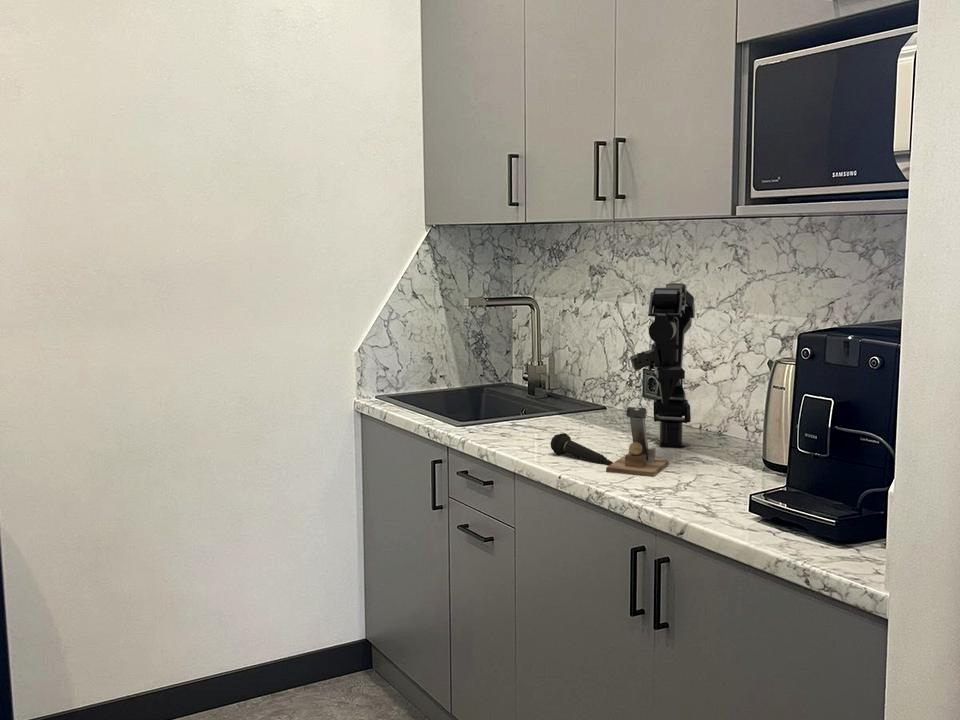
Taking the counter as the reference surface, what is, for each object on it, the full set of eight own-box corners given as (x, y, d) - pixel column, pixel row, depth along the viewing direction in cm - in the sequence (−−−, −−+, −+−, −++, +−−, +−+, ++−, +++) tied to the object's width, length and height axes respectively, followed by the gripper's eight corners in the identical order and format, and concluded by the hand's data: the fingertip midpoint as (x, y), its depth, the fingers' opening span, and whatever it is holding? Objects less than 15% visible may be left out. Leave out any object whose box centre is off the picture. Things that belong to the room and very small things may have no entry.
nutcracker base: (623, 460, 233) (623, 433, 232) (668, 464, 228) (669, 437, 227) (606, 471, 221) (606, 443, 221) (653, 476, 217) (653, 448, 216)
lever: (635, 455, 230) (628, 404, 223) (652, 456, 228) (645, 406, 221) (632, 461, 228) (626, 410, 221) (649, 463, 226) (643, 411, 219)
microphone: (617, 478, 229) (557, 454, 243) (624, 454, 229) (564, 432, 244) (603, 474, 225) (543, 450, 240) (611, 451, 225) (550, 428, 240)
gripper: (627, 336, 244) (626, 397, 245) (637, 343, 225) (636, 410, 227) (672, 336, 243) (671, 397, 245) (686, 343, 225) (684, 410, 226)
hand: (664, 403), depth 236 cm, fingers closed
